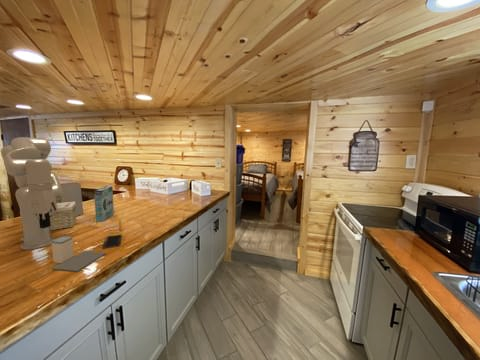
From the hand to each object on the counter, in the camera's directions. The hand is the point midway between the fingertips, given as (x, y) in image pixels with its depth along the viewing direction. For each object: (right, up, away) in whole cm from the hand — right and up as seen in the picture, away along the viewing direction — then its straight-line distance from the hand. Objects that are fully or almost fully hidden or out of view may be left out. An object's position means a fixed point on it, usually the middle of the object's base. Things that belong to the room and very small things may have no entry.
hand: (45, 227), depth 88 cm
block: (+7, -15, +1) cm, 17 cm away
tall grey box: (-43, -6, +64) cm, 77 cm away
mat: (+16, -16, 0) cm, 22 cm away
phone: (+17, -14, +20) cm, 30 cm away
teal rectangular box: (-14, -8, +60) cm, 62 cm away
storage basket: (-34, -10, +39) cm, 53 cm away
